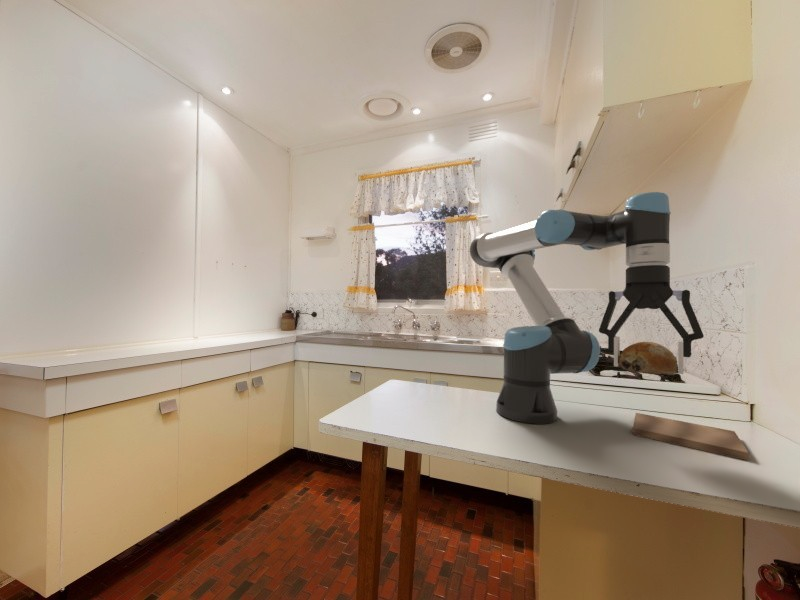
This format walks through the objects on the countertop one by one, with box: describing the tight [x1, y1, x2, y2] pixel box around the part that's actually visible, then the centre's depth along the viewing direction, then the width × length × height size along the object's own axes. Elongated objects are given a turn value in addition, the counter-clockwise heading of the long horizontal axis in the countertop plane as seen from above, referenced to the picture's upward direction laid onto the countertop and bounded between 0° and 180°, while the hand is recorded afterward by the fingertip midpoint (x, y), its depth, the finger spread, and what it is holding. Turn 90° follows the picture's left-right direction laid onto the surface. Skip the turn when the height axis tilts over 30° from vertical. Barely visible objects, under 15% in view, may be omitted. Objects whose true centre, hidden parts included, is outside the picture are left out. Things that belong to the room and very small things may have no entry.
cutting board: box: [632, 412, 749, 461], centre depth 72 cm, size 18×14×2 cm
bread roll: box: [618, 341, 679, 376], centre depth 67 cm, size 10×10×8 cm
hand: (647, 369), depth 67 cm, fingers closed on bread roll, 10 cm apart
